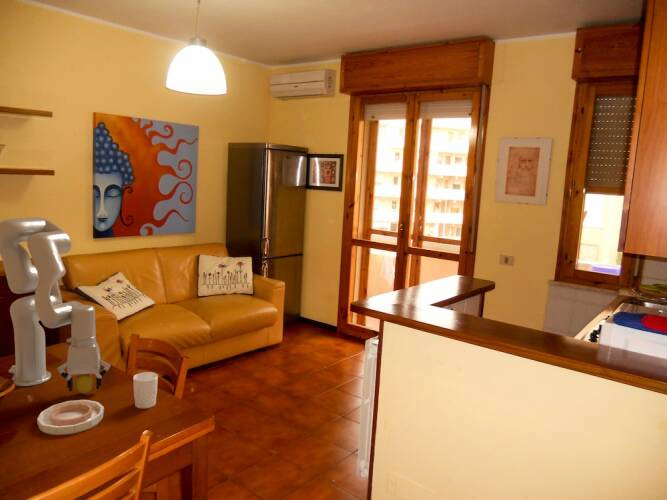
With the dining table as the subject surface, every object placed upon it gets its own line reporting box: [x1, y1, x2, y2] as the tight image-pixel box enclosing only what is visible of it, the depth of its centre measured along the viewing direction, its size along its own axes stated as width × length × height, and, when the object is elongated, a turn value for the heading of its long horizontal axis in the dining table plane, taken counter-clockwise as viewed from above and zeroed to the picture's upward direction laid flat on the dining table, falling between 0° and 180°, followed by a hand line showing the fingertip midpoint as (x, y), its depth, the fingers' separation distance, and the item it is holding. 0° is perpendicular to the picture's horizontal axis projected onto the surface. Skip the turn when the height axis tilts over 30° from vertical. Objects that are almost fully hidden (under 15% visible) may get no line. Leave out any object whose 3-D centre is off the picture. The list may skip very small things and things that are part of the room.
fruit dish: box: [36, 399, 105, 436], centre depth 156 cm, size 18×18×3 cm
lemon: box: [75, 374, 94, 395], centre depth 174 cm, size 6×6×8 cm
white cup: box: [132, 371, 159, 409], centre depth 169 cm, size 8×8×10 cm
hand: (84, 388), depth 174 cm, fingers open, 8 cm apart
